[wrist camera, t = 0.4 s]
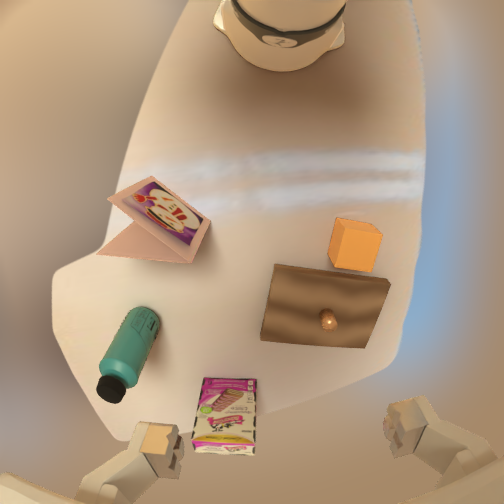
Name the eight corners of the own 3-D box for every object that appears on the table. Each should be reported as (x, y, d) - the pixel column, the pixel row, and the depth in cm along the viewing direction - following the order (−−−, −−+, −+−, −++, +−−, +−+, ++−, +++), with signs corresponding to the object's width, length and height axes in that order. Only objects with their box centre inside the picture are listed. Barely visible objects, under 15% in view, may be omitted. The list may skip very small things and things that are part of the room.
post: (321, 307, 49) (325, 319, 45) (334, 308, 49) (339, 320, 45) (317, 319, 49) (321, 331, 46) (330, 320, 50) (335, 332, 46)
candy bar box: (256, 377, 58) (256, 443, 43) (256, 392, 60) (256, 456, 45) (202, 375, 58) (190, 440, 43) (204, 391, 60) (194, 453, 45)
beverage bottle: (123, 309, 52) (78, 385, 33) (148, 295, 50) (104, 374, 32) (145, 334, 54) (110, 414, 36) (170, 321, 53) (139, 406, 34)
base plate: (274, 263, 48) (275, 269, 46) (386, 278, 49) (390, 284, 47) (260, 333, 53) (260, 340, 51) (362, 341, 54) (364, 348, 52)
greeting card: (214, 216, 45) (196, 257, 31) (186, 252, 47) (160, 302, 33) (154, 171, 42) (110, 192, 28) (129, 208, 44) (82, 243, 31)
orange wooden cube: (336, 217, 45) (345, 227, 40) (371, 224, 45) (382, 234, 40) (327, 253, 47) (334, 267, 42) (361, 258, 47) (371, 272, 43)
